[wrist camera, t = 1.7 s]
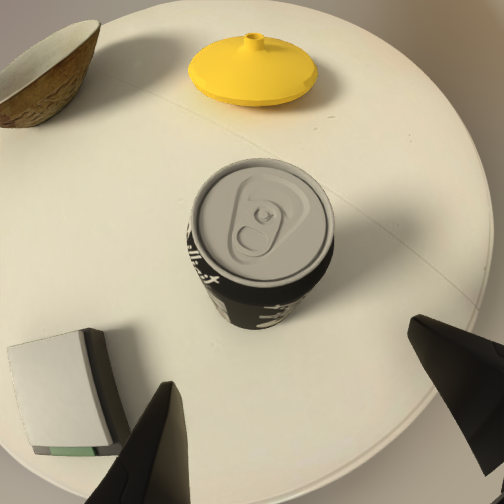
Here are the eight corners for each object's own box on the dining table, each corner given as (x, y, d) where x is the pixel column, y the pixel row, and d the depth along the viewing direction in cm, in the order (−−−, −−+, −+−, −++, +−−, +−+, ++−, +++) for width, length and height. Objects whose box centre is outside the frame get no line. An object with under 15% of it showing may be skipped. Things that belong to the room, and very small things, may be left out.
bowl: (18, 93, 35) (-1, 59, 25) (120, 46, 37) (109, 3, 28) (-19, 182, 26) (-54, 144, 17) (108, 120, 29) (82, 58, 20)
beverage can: (308, 270, 23) (362, 187, 12) (274, 345, 21) (308, 328, 10) (235, 236, 24) (229, 132, 13) (197, 306, 22) (148, 249, 10)
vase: (303, 56, 35) (309, 18, 28) (325, 123, 29) (339, 74, 23) (196, 56, 34) (192, 18, 28) (183, 124, 29) (173, 73, 22)
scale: (136, 446, 17) (121, 457, 14) (49, 449, 16) (29, 455, 13) (103, 331, 21) (84, 325, 18) (23, 349, 19) (2, 345, 16)
